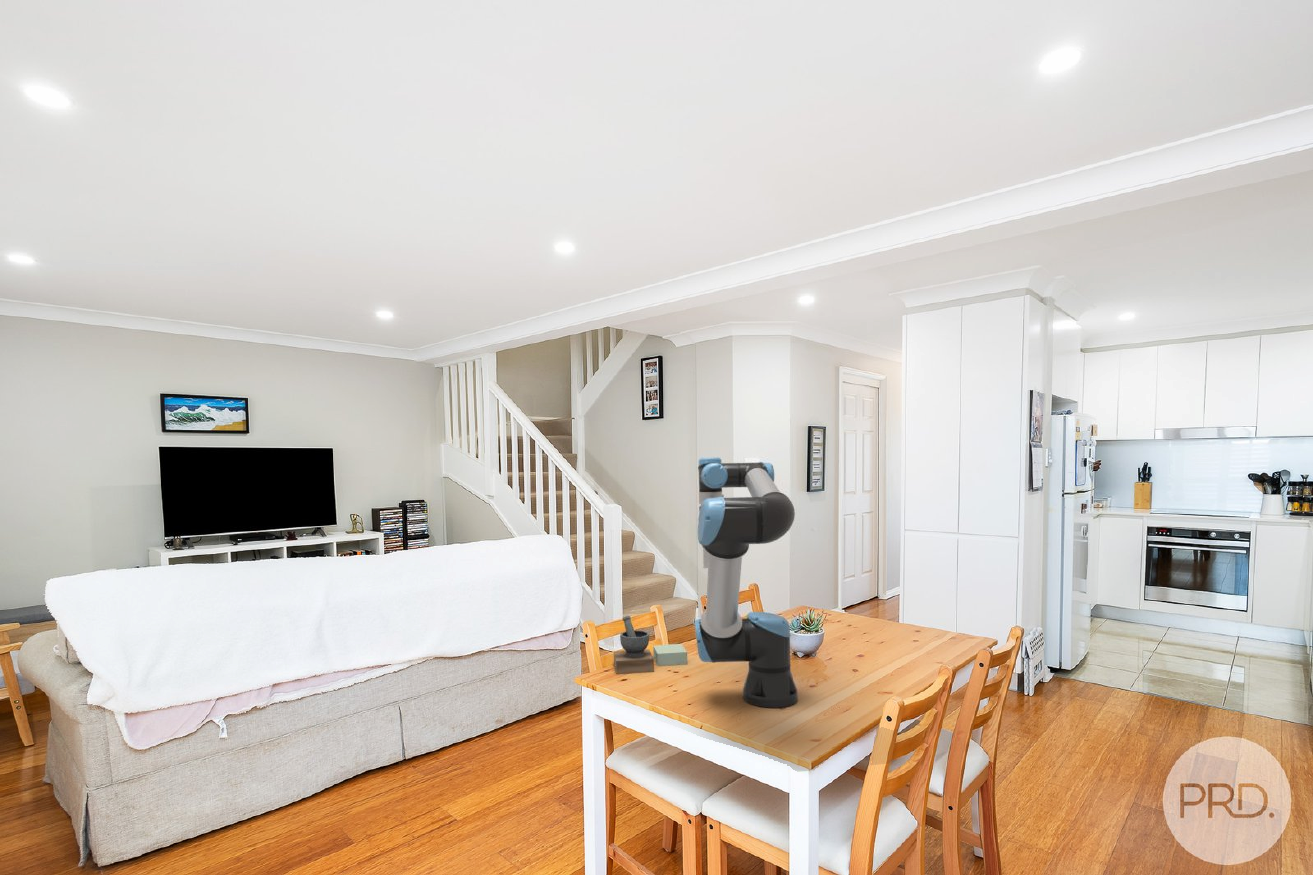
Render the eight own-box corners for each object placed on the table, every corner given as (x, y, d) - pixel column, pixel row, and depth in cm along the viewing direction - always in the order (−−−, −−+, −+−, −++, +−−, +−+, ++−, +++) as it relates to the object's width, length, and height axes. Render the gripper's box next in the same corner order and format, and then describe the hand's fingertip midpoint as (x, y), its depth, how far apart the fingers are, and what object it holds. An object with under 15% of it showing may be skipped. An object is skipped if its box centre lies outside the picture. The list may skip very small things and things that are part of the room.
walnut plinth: (653, 671, 206) (653, 659, 206) (616, 674, 204) (616, 661, 205) (649, 661, 217) (649, 649, 217) (613, 663, 215) (613, 651, 215)
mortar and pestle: (655, 656, 209) (654, 619, 210) (631, 661, 204) (630, 623, 205) (636, 648, 219) (636, 612, 219) (612, 653, 213) (612, 616, 214)
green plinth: (687, 664, 213) (687, 652, 213) (657, 666, 212) (657, 653, 212) (681, 655, 223) (681, 643, 223) (653, 657, 222) (653, 645, 222)
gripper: (732, 507, 196) (733, 577, 195) (713, 502, 221) (714, 565, 220) (708, 507, 195) (709, 578, 194) (691, 503, 220) (693, 565, 219)
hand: (712, 571), depth 207 cm, fingers open, 13 cm apart
